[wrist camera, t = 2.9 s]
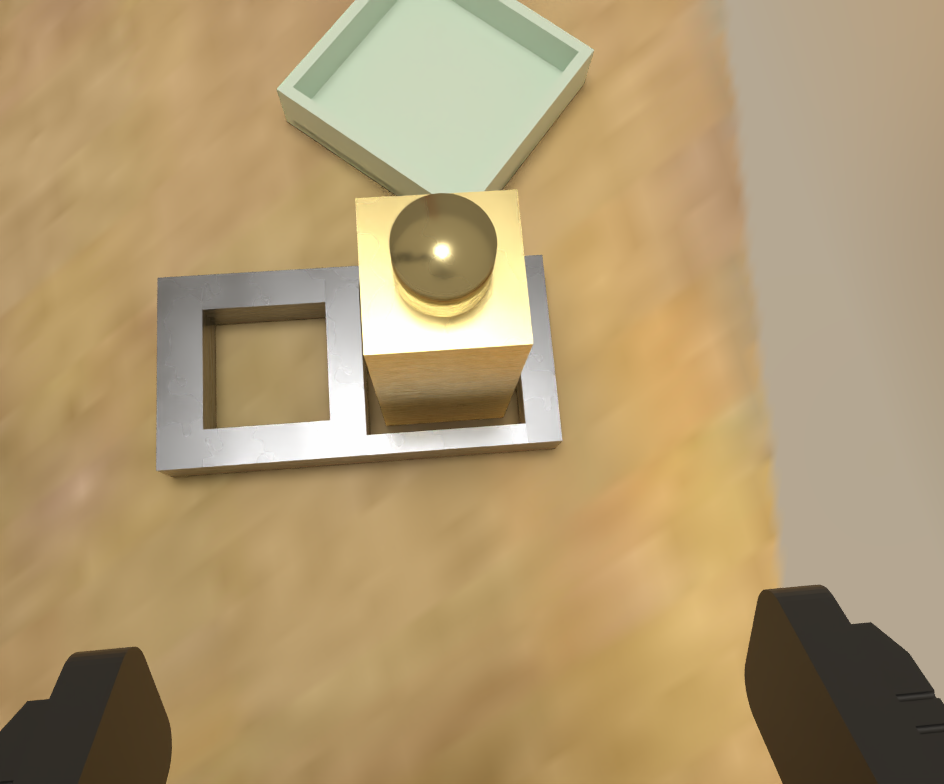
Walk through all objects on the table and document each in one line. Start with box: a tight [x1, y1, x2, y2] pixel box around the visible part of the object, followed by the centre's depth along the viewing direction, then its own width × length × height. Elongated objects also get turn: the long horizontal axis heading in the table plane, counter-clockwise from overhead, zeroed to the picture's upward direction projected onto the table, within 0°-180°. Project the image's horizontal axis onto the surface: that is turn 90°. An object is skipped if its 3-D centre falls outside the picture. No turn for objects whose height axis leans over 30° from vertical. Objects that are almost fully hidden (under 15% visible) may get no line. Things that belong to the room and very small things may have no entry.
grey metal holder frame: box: [156, 255, 562, 477], centre depth 34 cm, size 8×16×2 cm, turn 95°
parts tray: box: [277, 0, 594, 196], centre depth 37 cm, size 10×10×2 cm
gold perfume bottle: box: [355, 190, 533, 426], centre depth 29 cm, size 5×5×13 cm
